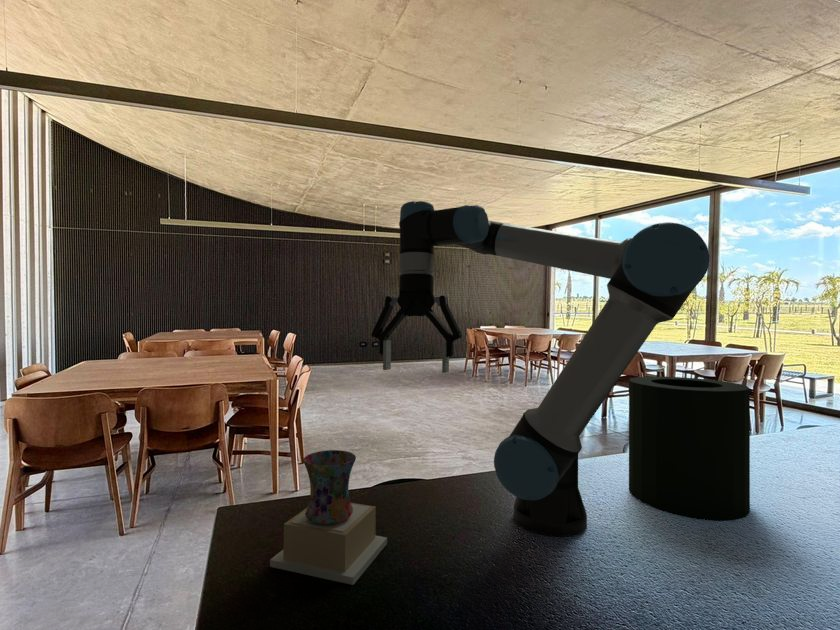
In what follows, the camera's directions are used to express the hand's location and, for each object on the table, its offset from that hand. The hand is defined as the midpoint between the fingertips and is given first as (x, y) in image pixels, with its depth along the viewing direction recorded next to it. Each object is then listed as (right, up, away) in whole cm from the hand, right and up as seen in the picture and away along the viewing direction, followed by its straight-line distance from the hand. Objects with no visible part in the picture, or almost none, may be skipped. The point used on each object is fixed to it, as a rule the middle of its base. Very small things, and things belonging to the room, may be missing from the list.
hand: (415, 371), depth 97 cm
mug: (-16, -24, -16) cm, 33 cm away
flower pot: (+66, -33, +11) cm, 74 cm away
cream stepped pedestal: (-15, -31, -16) cm, 39 cm away
